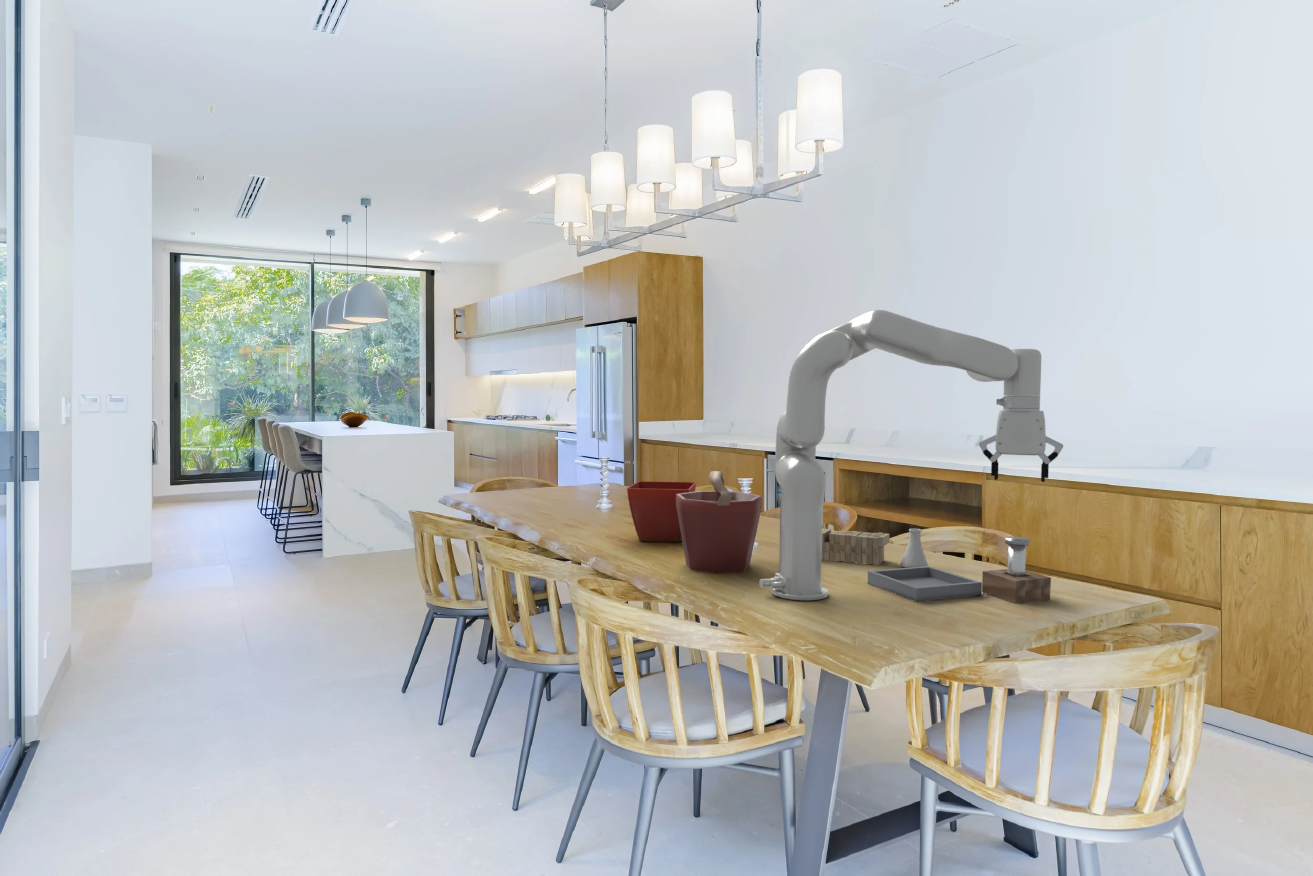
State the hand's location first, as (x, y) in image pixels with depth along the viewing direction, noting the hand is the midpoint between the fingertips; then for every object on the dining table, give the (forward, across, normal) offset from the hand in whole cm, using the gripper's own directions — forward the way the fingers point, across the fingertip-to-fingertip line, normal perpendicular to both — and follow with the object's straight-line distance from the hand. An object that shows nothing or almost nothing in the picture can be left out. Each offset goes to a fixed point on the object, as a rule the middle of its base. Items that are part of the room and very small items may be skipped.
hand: (1019, 480), depth 182 cm
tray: (+26, -20, -3) cm, 33 cm away
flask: (+27, -25, +22) cm, 42 cm away
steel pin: (+26, 0, 0) cm, 27 cm away
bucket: (+26, -72, -1) cm, 77 cm away
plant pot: (+26, -101, +29) cm, 109 cm away
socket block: (+26, 0, 0) cm, 26 cm away
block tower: (+27, -47, +23) cm, 59 cm away
